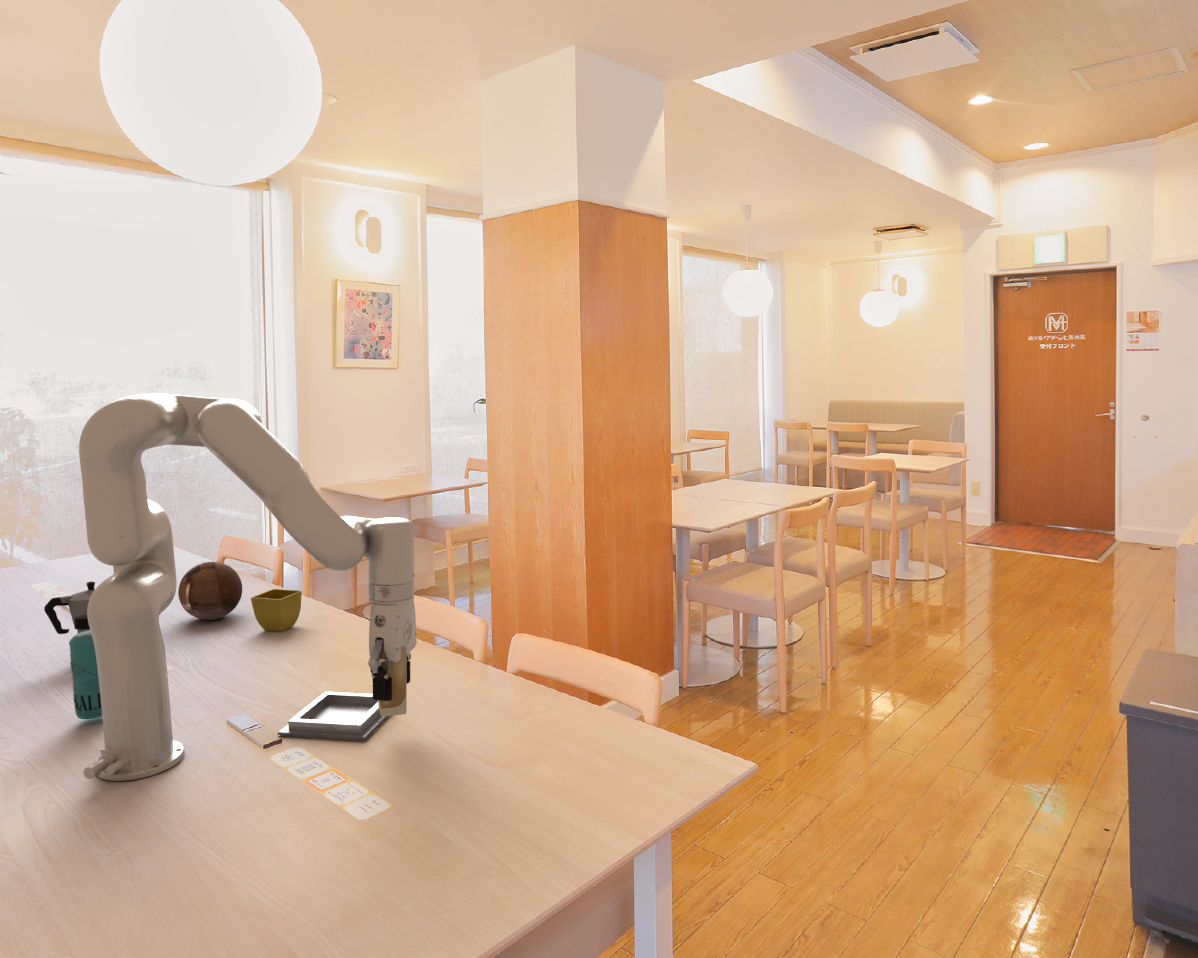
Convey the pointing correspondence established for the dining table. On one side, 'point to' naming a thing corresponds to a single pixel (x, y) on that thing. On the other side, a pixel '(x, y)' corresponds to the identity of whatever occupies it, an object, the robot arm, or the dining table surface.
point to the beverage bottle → (85, 672)
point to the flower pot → (277, 609)
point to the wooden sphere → (210, 590)
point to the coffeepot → (70, 607)
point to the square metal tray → (336, 718)
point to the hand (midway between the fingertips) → (392, 690)
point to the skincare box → (396, 687)
